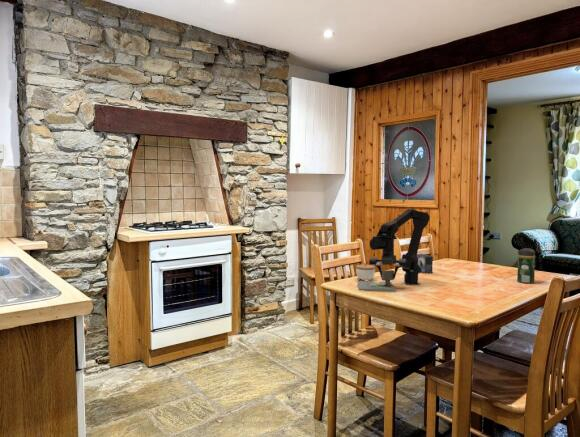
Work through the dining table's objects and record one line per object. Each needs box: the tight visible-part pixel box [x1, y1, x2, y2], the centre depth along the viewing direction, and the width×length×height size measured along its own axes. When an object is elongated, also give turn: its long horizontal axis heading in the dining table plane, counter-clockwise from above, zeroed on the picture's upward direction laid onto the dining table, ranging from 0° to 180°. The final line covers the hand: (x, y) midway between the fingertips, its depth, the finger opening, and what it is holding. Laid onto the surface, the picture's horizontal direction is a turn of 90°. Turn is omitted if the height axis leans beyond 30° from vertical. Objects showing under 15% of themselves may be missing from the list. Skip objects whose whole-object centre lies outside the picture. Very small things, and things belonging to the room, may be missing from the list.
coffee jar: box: [516, 247, 536, 284], centre depth 227 cm, size 10×8×19 cm
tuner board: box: [356, 280, 397, 293], centre depth 215 cm, size 18×18×1 cm
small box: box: [417, 253, 434, 275], centre depth 257 cm, size 11×6×10 cm, turn 25°
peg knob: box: [369, 269, 395, 286], centre depth 213 cm, size 13×4×7 cm, turn 106°
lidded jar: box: [355, 262, 376, 281], centre depth 233 cm, size 11×11×9 cm
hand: (387, 278), depth 214 cm, fingers closed on peg knob, 6 cm apart
